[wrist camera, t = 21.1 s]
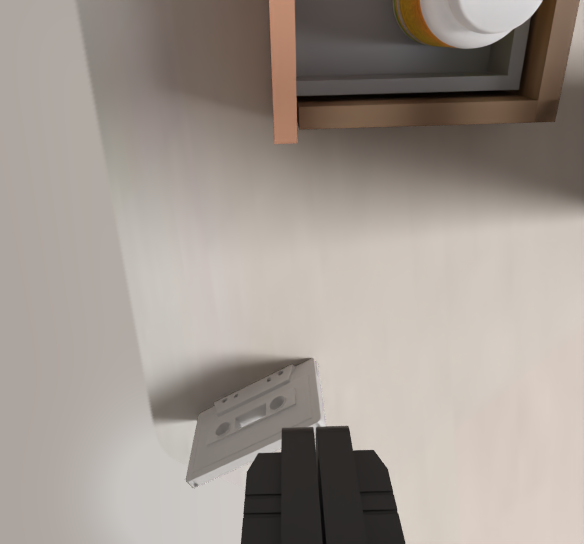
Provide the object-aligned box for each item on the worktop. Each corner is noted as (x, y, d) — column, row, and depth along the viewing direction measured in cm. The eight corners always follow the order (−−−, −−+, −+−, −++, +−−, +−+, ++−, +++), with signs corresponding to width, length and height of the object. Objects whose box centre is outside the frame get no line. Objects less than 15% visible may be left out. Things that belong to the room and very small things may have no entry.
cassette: (311, 352, 42) (318, 415, 35) (321, 367, 43) (331, 432, 36) (194, 409, 44) (180, 479, 37) (206, 423, 45) (194, 494, 38)
